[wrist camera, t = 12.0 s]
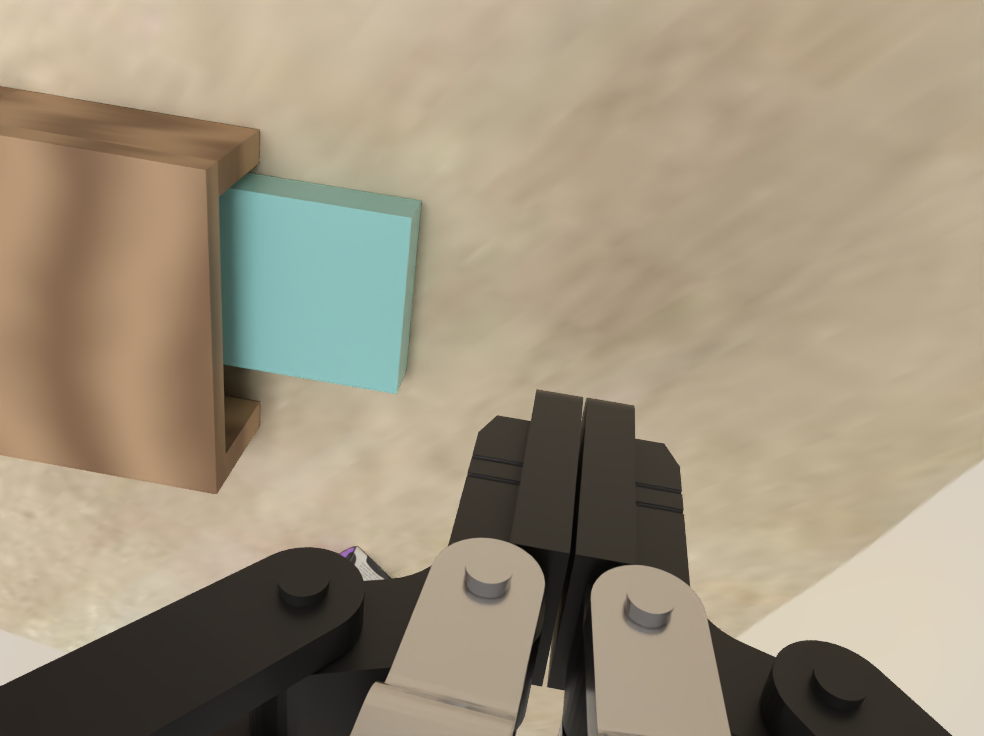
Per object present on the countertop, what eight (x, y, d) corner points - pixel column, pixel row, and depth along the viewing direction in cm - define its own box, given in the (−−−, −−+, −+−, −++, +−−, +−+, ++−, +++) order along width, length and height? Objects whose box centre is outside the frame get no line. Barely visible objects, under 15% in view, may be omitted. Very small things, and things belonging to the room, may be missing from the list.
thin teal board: (423, 197, 40) (410, 220, 37) (408, 365, 45) (395, 397, 42) (85, 142, 41) (48, 161, 38) (103, 314, 45) (71, 342, 43)
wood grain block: (259, 129, 39) (205, 170, 34) (259, 425, 47) (216, 494, 42) (-2, 86, 39) (-95, 119, 34) (43, 386, 47) (-26, 450, 42)
